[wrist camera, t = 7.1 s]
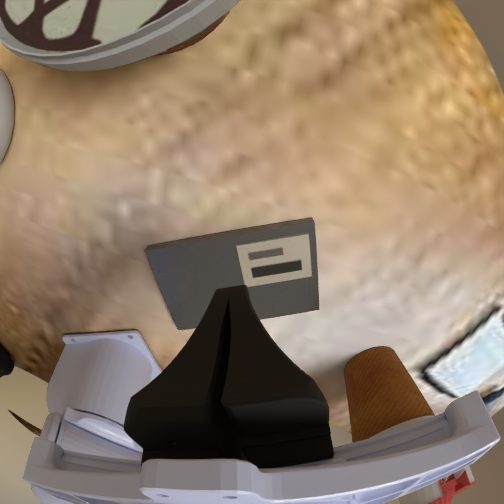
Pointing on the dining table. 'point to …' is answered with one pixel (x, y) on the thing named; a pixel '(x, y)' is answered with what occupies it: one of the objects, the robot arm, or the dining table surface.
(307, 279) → the label panel
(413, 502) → the citrus juicer
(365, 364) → the disposable coffee cup
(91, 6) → the food container
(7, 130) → the donut
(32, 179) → the dining table surface
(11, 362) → the tape measure
